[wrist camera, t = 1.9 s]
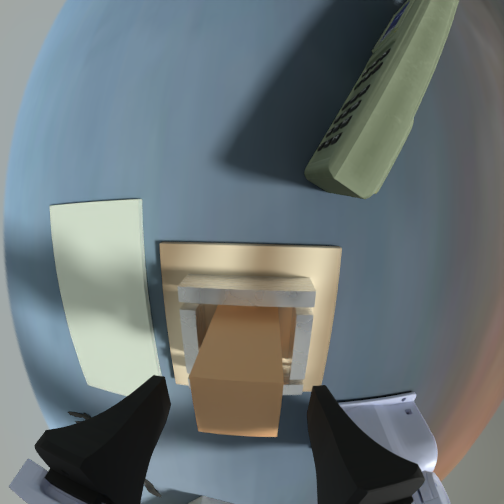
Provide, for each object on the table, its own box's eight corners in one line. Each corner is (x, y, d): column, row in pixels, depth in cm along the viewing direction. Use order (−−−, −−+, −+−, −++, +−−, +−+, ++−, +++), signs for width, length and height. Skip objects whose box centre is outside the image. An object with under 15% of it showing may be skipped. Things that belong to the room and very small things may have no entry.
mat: (142, 198, 17) (138, 199, 17) (167, 400, 22) (165, 404, 21) (54, 205, 18) (49, 205, 17) (90, 381, 22) (88, 384, 21)
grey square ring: (309, 277, 17) (316, 291, 15) (298, 373, 19) (301, 394, 17) (188, 273, 18) (177, 286, 15) (196, 368, 20) (189, 388, 17)
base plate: (339, 246, 18) (341, 248, 17) (318, 386, 20) (319, 390, 20) (162, 241, 18) (159, 243, 17) (177, 379, 21) (176, 383, 20)
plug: (277, 304, 18) (283, 382, 10) (274, 353, 19) (276, 436, 11) (218, 302, 18) (188, 376, 10) (220, 350, 19) (198, 431, 11)
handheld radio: (294, 172, 17) (410, -17, 11) (336, 199, 17) (437, 3, 12) (316, 166, 10) (439, -48, 5) (378, 209, 11) (471, -23, 5)
